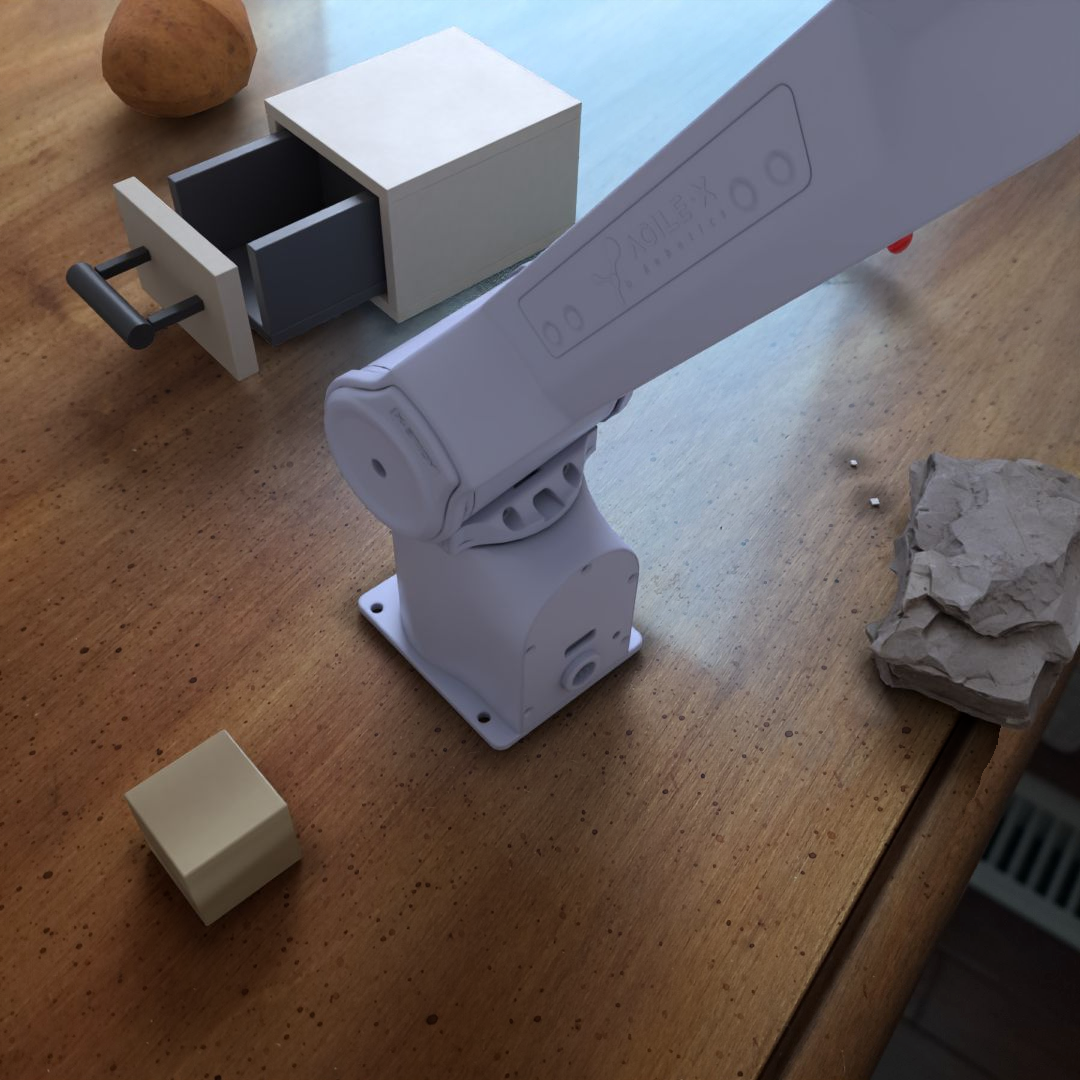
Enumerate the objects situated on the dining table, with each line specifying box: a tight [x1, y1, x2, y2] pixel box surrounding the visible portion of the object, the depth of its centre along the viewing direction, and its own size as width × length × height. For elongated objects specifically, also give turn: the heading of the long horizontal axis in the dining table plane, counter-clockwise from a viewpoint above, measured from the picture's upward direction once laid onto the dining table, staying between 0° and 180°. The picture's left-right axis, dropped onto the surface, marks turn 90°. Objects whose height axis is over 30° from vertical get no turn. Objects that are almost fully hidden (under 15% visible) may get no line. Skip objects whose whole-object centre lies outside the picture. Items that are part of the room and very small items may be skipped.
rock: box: [865, 451, 1080, 731], centre depth 50 cm, size 14×9×4 cm
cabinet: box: [263, 25, 583, 324], centre depth 65 cm, size 13×11×8 cm
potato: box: [101, 0, 259, 119], centre depth 74 cm, size 9×11×8 cm
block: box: [123, 729, 303, 927], centre depth 42 cm, size 4×4×4 cm
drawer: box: [65, 128, 388, 382], centre depth 60 cm, size 16×9×6 cm, turn 131°
